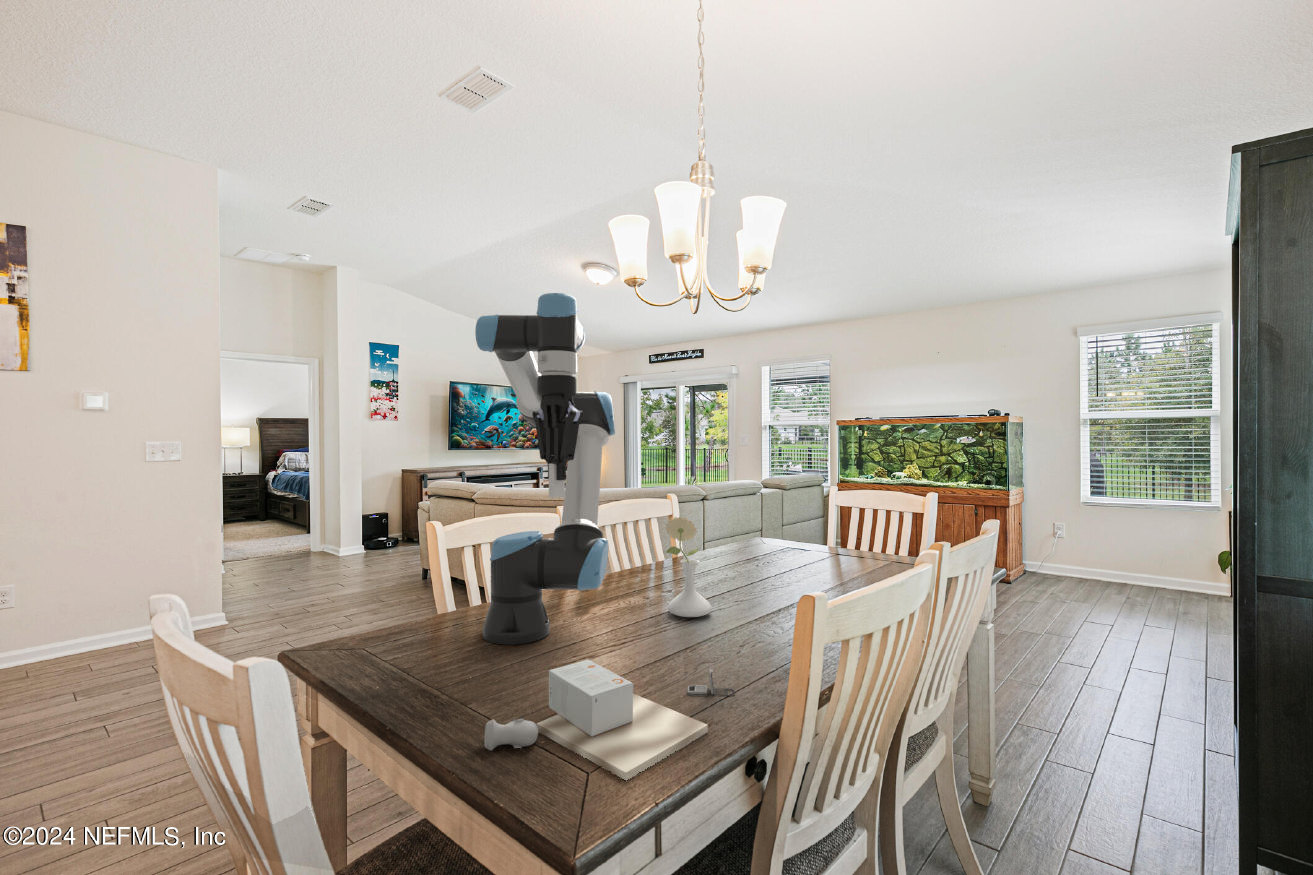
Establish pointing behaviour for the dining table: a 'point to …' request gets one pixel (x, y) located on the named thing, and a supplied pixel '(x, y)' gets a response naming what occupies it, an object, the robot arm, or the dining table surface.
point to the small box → (591, 697)
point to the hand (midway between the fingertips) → (556, 496)
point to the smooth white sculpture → (510, 733)
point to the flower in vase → (686, 572)
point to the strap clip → (705, 690)
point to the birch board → (629, 738)
